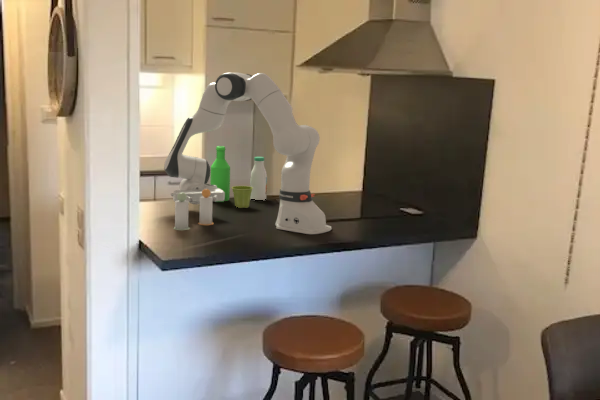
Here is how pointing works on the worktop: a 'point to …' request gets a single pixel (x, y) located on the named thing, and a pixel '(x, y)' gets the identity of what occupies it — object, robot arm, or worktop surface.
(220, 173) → the bottle
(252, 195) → the milk bottle
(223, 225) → the worktop surface
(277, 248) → the worktop surface
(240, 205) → the plant pot
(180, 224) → the green ball tube
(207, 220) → the orange ball tube
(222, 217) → the worktop surface
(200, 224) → the card
